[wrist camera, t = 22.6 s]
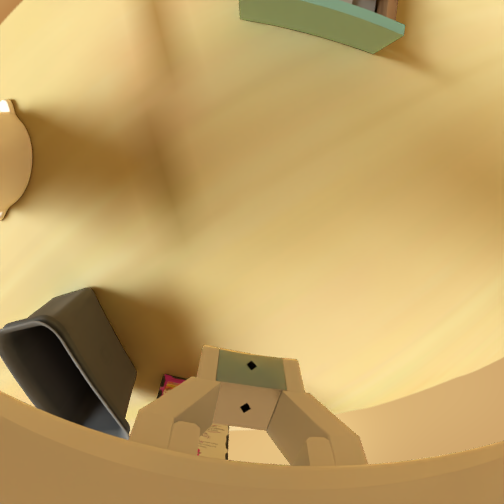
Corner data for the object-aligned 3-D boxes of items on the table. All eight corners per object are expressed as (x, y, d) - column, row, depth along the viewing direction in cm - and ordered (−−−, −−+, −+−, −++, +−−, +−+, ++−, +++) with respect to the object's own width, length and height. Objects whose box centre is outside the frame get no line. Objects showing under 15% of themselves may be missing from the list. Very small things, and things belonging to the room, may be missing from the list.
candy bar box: (160, 393, 50) (139, 469, 34) (163, 372, 48) (139, 451, 32) (225, 407, 51) (220, 487, 35) (232, 388, 49) (228, 470, 34)
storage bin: (159, 382, 49) (138, 448, 35) (88, 391, 50) (59, 446, 36) (99, 266, 42) (49, 316, 28) (29, 290, 43) (-22, 335, 30)
